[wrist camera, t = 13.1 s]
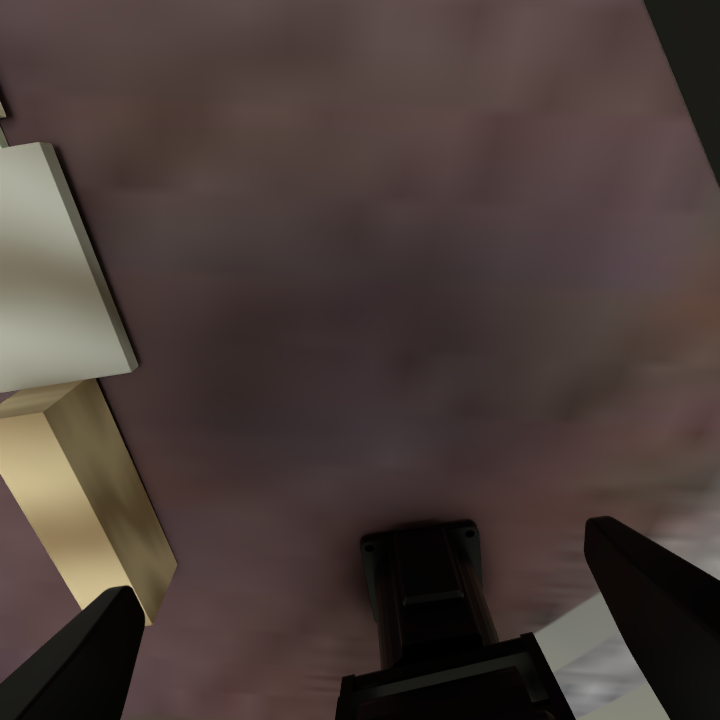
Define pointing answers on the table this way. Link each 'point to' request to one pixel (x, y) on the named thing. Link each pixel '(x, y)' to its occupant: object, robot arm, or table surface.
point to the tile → (2, 111)
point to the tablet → (694, 63)
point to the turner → (68, 392)
